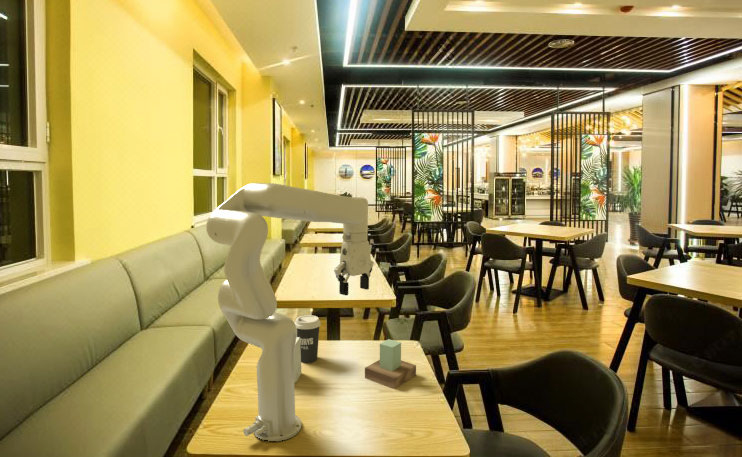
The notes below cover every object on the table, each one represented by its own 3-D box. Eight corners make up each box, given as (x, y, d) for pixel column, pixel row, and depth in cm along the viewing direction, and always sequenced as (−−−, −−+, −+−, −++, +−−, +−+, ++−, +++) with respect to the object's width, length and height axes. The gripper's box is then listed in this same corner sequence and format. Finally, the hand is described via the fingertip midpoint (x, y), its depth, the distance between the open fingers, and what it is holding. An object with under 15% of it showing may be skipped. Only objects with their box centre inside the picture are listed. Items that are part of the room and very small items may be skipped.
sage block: (392, 371, 153) (392, 347, 152) (379, 367, 156) (379, 343, 155) (400, 365, 157) (401, 342, 156) (388, 361, 160) (388, 339, 158)
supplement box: (302, 372, 160) (301, 336, 158) (296, 383, 152) (295, 345, 150) (280, 371, 160) (279, 336, 158) (273, 382, 153) (272, 344, 151)
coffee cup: (292, 355, 173) (291, 315, 171) (318, 352, 176) (317, 313, 174) (296, 366, 164) (295, 324, 162) (324, 362, 167) (323, 321, 165)
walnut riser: (394, 390, 148) (394, 378, 148) (364, 379, 156) (364, 367, 155) (415, 376, 158) (416, 365, 157) (386, 366, 165) (386, 355, 165)
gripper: (345, 241, 138) (344, 299, 140) (382, 236, 151) (380, 288, 154) (326, 238, 143) (326, 294, 145) (364, 233, 156) (363, 284, 158)
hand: (354, 291), depth 149 cm, fingers open, 9 cm apart
